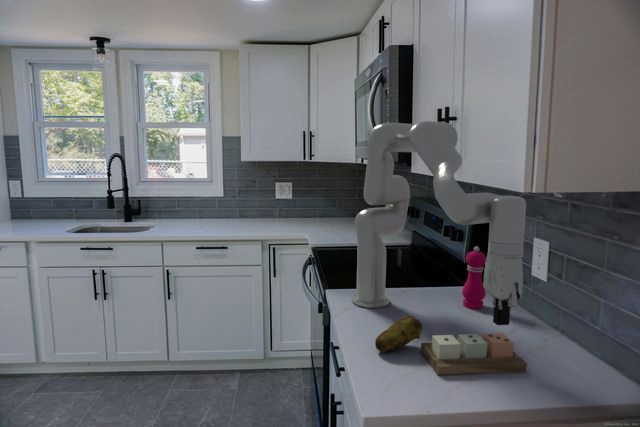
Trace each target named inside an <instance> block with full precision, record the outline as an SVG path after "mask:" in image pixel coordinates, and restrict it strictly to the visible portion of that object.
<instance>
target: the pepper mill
mask: <svg viewBox="0 0 640 427" xmlns="http://www.w3.org/2000/svg"><path fill="white" fill-rule="evenodd" d="M465 258H466V259H465V260H466V262H467V268H466V270H467V272H468V276H467V279H466V282H465V283H464V285H463V288H462V291H461V294H462V296H463V297H464V298H463V299H462V305H463V307H465V308H468V309H470V310H481V309H483V308H484V301H483V300H484V299H485V298H486V290H485V289H484V287H483V281H482V275H483V271H484V269H485V263H486V258H487V256H486V255H485V254H484V253H483V252H482V251H480V247H479V246H474V247H473V251H470V252H468V253H467V254H466V256H465Z"/></svg>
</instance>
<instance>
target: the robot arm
mask: <svg viewBox="0 0 640 427" xmlns="http://www.w3.org/2000/svg"><path fill="white" fill-rule="evenodd" d="M458 138H459V137H458V131H457V129H456V128H455V127H454V126H453V125H452V124H451V123H448V122H444V121H430V120H426V121H425V120H423V121H419V122H417V123H402V122H401V123H400V122H384V123H381V124H378V125H376V126H374V127H373V128H372V129H371V131H370V132H369V134H368V137H367V143H366V153H367V162H366V169H365V177H364V186H363V198H364V201H365V202H366V203H367V204H368V205H371V206H383V205H384V207H373V208H372V207H370V208H365V209H363V210H361V211H359V212H358V213H357V214H356V216H355V218H354V229H355V233H356V241H357V243H356V244H357V246H356V247H357V249H356V250H357V251H356V252H357V258H356V260H357V261H356V262H357V263H356V264H357V265H356V293H355V294H353V295H352V296H351V303H353V304H354V305H356V306H359V307H363V308H370V309H377V308H378V309H379V308H383V307H386V306H388V305H389V304H390V298H389V297H388V296H387V295H386V277H387V275H386V274H387V272H386V271H387V248H386V245H385V243H384V241H383V239H382V237H387V236H388V237H389V236H395V235H397V234H400V233H401V232H403V230H404V228H405V225H406V221H407V217H408V216H407V214H408V208H409V204H410V197H411V188H410V184H409V182H408V180H407V179H406V178H405V177H404V176H402V175H397V174H394V170H395V162H394V157H393V154H392V153H393V152H395V153H396V152H397V153H416V154H417V155H418V157H419V158H420V159H421V161H423V163H424V164H425V165H426V167H427V168H428V170H429V171H430V173H431V174H432V176H433V182H432V183H433V184H432V185H433V186H432V188H433V192H434V197H435V199H436V201H437V202H438V204H439V206H440V207H441V208H442V210H443V211H444V213H445V215H447V216H448V218H449V219H450V220H452V222H454V223H456V224H457V225H460V226H470V225H476V224H487V223H489V231H488V246H487V247H488V248H487V249H488V250H487V254H486V262H485V264H484V270H483V271H484V273H483V281H482V283H483V287H484V289H485V292H487V293H489V294H490V295H491V297H492V305H493V316H492V317H493V318H492V323H494V324H495V325H496V326H509V325H510V320H511V319H510V317H511V310H512V307H515V308H517V307H518V300H521V298H522V295H523V290H524V289H523V285H524V280H523V279H524V275H523V274H524V273H523V272H524V271H523V270H524V269H523V267H524V266H523V257H524V246H525V245H524V244H525V228H526V226H525V225H526V211H527V203H526V200H525V198H523V197H522V196H516V195H499V194H496V193H492V192H472V193H470V192H469V193H466V192H465V191H464V190H463V188H462V187H461V186H460V185H459V183H458V182H457V180H456V178H455V176H454V174H455V173H457V172H458V170H459V169H461V166H462V164H463V157H462V155H461V154H460V152H458V150H457V149H456V146H457V144H458V140H459V139H458Z"/></svg>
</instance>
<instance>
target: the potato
mask: <svg viewBox="0 0 640 427" xmlns="http://www.w3.org/2000/svg"><path fill="white" fill-rule="evenodd" d="M422 329H423V325H422V323H421V322H420V320H419V319H418V318H416V317H414V316H412V315H411V316H410V315H405V316H402V317H401V318H399V319H398V320H396V321H394V323H392V324H391V325H390V326H389V327H388V328H386V330H384V331H382V332H381V333H380V334H378V336H377V337H376V338H375V348H376V350H378V351H379V352H381V353H388V352H390V351H393V350H397V349H400V348H403V347H404V346H406V345H407V344H409V343H411V342H412V341H414V340H416V339H417V340H419V339H420V338H421V334H422V331H423V330H422Z"/></svg>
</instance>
